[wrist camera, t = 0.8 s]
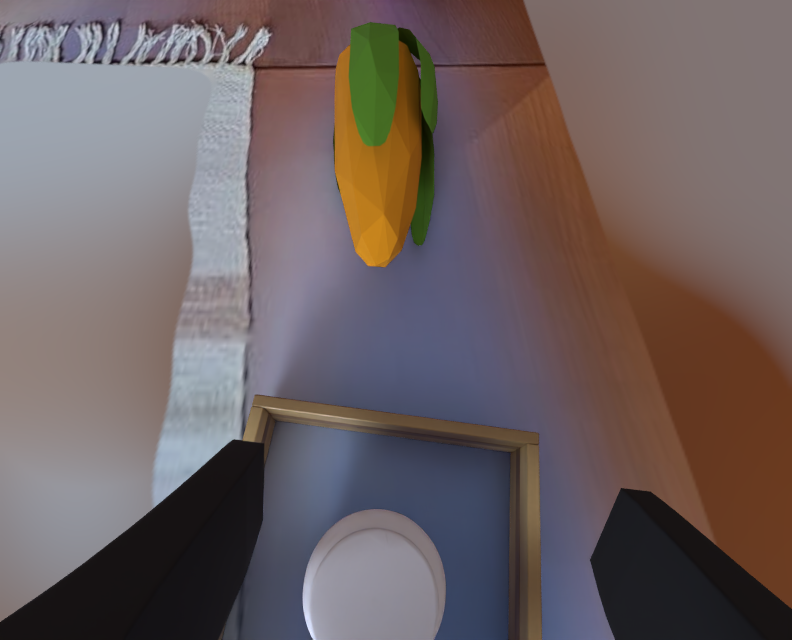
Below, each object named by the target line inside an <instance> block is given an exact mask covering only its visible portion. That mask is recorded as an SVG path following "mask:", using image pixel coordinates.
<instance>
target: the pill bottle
mask: <svg viewBox="0 0 792 640" xmlns="http://www.w3.org/2000/svg"><path fill="white" fill-rule="evenodd" d="M445 598H446V580H445V573H444V568H443V565H442V561H441V558H440V556H439V553H438V551H437V549H436V547H435V545H434V543H433V542H432V541H431V539H430V538H429V536H428V535H427V534H426V533H425V532H424V530H423V529H422V528H421V527H420V526H418V525H417V524H416V523H415V522H413V521H412V520H411V519H409V518H407V517H406V516H404V515H402V514H400V513H397V512H393V511H389V510H384V509H369V510H362V511H359V512H356V513H353V514H350V515H348V516H346V517H344V518H343V519H341V520H340V521H338V522H337V523H336V524H334V525H333V526H332V527H331V528H330V529H329V530H328V531H327V532H326V533H325V534H324V536H323V537H322V538H321V539H320V541H319V542H318V544H317V546H316V547H315V549H314V551H313V553H312V555H311V557H310V560H309V563H308V566H307V569H306V573H305V578H304V584H303V610H304V615H305V620H306V624H307V627H308V629H309V632H310V634H311V636H312V639H313V640H434V638H435V636H436V634H437V632H438V630H439V627H440V624H441V621H442V617H443V613H444V607H445Z"/></svg>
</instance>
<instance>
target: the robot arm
mask: <svg viewBox="0 0 792 640" xmlns="http://www.w3.org/2000/svg"><path fill="white" fill-rule="evenodd" d="M264 446H265V443H258V442H250V441H242V440H232V441H231V442H229V443H228V444H227V445H226V446H225V447H223V448H222V449H221V450H220V451H219V452H218V453H217V454H216V455H215V456H213V457H212V458H211V459H210V460H209V461H208V462H207V463H206V464H205V465H203V466H202V467H201V468H200V469H199V470H198V471H197V472H196V473H194V474H193V475H192V476H191V477H190V478H189V479H188V480H186V481H185V482H184V483H183V484H182V485H181V486H180V487H178V488H177V489H176V490H175V491H174V492H172V493H171V494H170V495H169V496H168V497H167V498H165V499H164V500H163V501H162V502H161V503H159V504H158V505H157V506H156V507H155V508H153V509H152V510H151V511H150V512H149V513H147V514H146V515H145V516H144V517H143V518H141V519H140V520H139V521H138V522H136V523H135V524H134V525H133V526H131V527H130V528H129V529H128V530H126V531H125V532H124V533H122V534H121V535H120V536H119V537H117V538H116V539H115V540H113V541H112V542H111V543H109V544H108V545H107V546H106V547H104V548H103V549H102V550H100V551H99V552H98V553H96V554H95V555H94V556H93V557H91V558H90V559H89V560H88V561H86V562H85V563H83V564H82V565H81V566H80V567H78V568H77V569H75V570H74V571H73V572H71V573H70V574H68V575H67V576H66V577H64V578H63V579H62V580H60V581H59V582H57V583H56V584H55V585H53V586H52V587H50V588H49V589H48V590H47V591H45V592H43V593H42V594H40V595H39V596H38V597H36V598H35V599H33V600H32V601H30V602H29V603H27V604H26V605H24V606H23V607H22V608H20V609H19V610H17V611H16V612H14V613H13V614H11V615H10V616H8V617H7V618H5V619H4V620H2V621H1V622H0V640H218V639H219V637H220V635H221V632H222V630H223V628H224V625H225V623H226V621H227V618H228V616H229V613H230V611H231V609H232V606H233V604H234V602H235V599H236V597H237V595H238V592H239V590H240V587H241V585H242V583H243V580H244V578H245V575H246V573H247V570H248V567H249V563H250V560H251V557H252V554H253V551H254V548H255V544H256V541H257V538H258V534H259V531H260V528H261V524H262V521H263V488H264ZM590 561H591V565H592V569H593V573H594V577H595V580H596V584H597V588H598V591H599V595H600V598H601V601H602V605H603V608H604V611H605V615H606V617H607V620H608V623H609V625H610V628H611V630H612V633H613V635H614V638H615V640H792V609H791V608H790V607H788V606H787V605H786V604H785V603H784V602H782V601H781V600H780V599H779V598H778V597H776V596H775V595H774V594H773V593H772V592H771V591H769V590H768V589H767V588H766V587H764V586H763V585H762V584H761V583H760V582H759V581H757V580H756V579H755V578H754V577H753V576H751V575H750V574H749V573H748V572H747V571H745V570H744V569H743V568H742V567H741V566H740V565H738V564H737V563H736V562H735V561H734V560H733V559H731V558H730V557H729V556H728V555H727V554H725V553H724V552H723V551H722V550H721V549H720V548H718V547H717V546H716V545H715V544H714V543H713V542H711V541H710V540H709V539H708V538H707V537H706V536H704V535H703V534H702V533H701V532H700V531H698V530H697V529H696V528H695V527H694V526H693V525H691V524H690V523H689V522H688V521H687V520H685V519H684V518H683V517H682V516H681V515H679V514H678V513H677V512H676V511H675V510H673V509H672V508H671V507H670V506H668V505H667V504H666V503H665V502H663V501H662V500H661V499H660V498H658V497H657V496H656V495H654V494H653V493H652V492H648V491H640V490H632V489H624V488H621V490H620V492H619V494H618V496H617V499H616V501H615V503H614V506H613V508H612V510H611V513H610V515H609V517H608V520H607V522H606V524H605V527H604V529H603V531H602V533H601V536H600V538H599V540H598V543H597V545H596V547H595V550H594V552H593V554H592V557H591V559H590Z"/></svg>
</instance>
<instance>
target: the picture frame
mask: <svg viewBox="0 0 792 640" xmlns="http://www.w3.org/2000/svg"><path fill="white" fill-rule="evenodd" d="M275 420H276V421H283V422H290V423H298V424H305V425H312V426H320V427H327V428H334V429H342V430H349V431H356V432H363V433H371V434H378V435H385V436H393V437H400V438H407V439H415V440H422V441H429V442H437V443H444V444H451V445H458V446H466V447H473V448H480V449H488V450H495V451H502V452H510V453H511V454H510V531H509V615H508V640H542V604H541V540H540V476H539V446H538V445H539V433H536V432H529V431H521V430H514V429H507V428H499V427H492V426H485V425H477V424H470V423H463V422H455V421H448V420H440V419H433V418H426V417H418V416H411V415H404V414H396V413H389V412H382V411H374V410H367V409H360V408H352V407H345V406H337V405H330V404H323V403H315V402H308V401H301V400H293V399H286V398H279V397H271V396H264V395H255V396H254V400H253V403H252V407H251V411H250V414H249V418H248V422H247V425H246V429H245V433H244V436H243V440H242V441H250V442H258V443H265V446H264V466H265V462H266V458H267V454H268V450H269V446H270V442H271V438H272V434H273V430H274V426H275ZM225 625H226V623H225ZM225 625H224V628H223V630H222V632H221V635H220V637H219V639H218V640H222V637H223V633H224V629H225Z"/></svg>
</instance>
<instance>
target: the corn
mask: <svg viewBox="0 0 792 640" xmlns="http://www.w3.org/2000/svg"><path fill="white" fill-rule="evenodd" d="M411 53H412V54H413V55H414V56H415V57H416V58H417V59H419V60H420V62H421V80H420V78H419V73H418V69H417V67H416V65H415V62H414V60H413V58H412V55H411ZM437 109H438V99H437V88H436V78H435V67H434V64H433V62H432V59H431V56H430V54H429V53H428V52H427V50H426V49H425V48H424V47H423V46H422V44H421V43H420V42H419V41H418V40H417V38H416V37H415V36H414V35H413V33H412V32H411V31H410V30H409V29H404V28H398V29H397V27H396V26H395V25H390V24H381V23H372V22H370V23H367V24H364V25H361V26H358V27H355V28H352V29H351V43H350V45H349V46H348V47H347V48H346V49H345V50H344V51H343V52H342V53H341V54H340V55H339V59H338V63H337V67H336V74H335V125H334V138H333V145H334V164H335V174H336V180H337V185H338V189H339V191H340V194H341V197H342V201H343V205H344V209H345V212H346V216H347V220H348V224H349V228H350V232H351V236H352V239H353V243H354V247H355V251H356V253H357V254H358V255H359V256H360V257H361V258H362V259H363V260H364V262H365V263H366V264H367V265H368V266H376V267H386V266H387V265H388V264H389V263H390V262H391V261H392V260H393V259H394V258H395V257H396V256H397V255H398V254H399V253H400V252H401V250H402V248H403V245H404V242H405V239H406V236H407V233H408V230H409V227H410V224H411V232H412V237H413V241H414V243H415V244H416V245H418V246H419V245H422V244H423V243H424V241H425V237H426V234H427V230H428V226H429V221H430V216H431V210H432V204H433V199H434V146H433V136H432V133H433V132H434V129H435V127H436V124H437Z"/></svg>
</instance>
